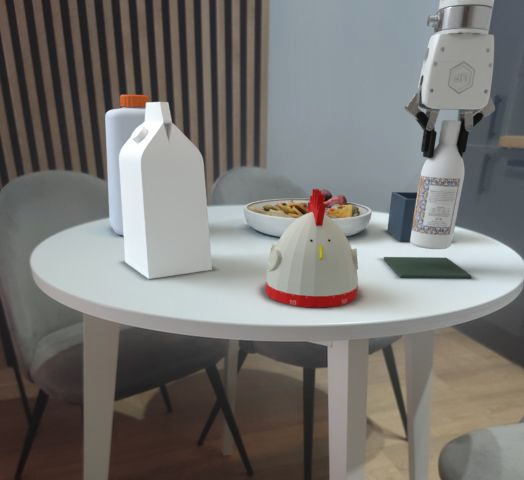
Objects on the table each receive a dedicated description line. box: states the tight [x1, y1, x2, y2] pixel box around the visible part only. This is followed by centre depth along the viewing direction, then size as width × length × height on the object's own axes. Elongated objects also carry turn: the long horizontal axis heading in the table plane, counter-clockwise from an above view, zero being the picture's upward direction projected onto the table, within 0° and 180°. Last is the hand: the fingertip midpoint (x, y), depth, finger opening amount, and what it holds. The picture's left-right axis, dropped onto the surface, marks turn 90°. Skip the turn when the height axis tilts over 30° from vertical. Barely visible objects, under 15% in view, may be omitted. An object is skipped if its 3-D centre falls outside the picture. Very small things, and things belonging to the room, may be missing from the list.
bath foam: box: [409, 119, 466, 250], centre depth 83 cm, size 7×7×20 cm
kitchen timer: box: [265, 188, 359, 308], centre depth 73 cm, size 14×14×15 cm
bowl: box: [243, 188, 372, 238], centre depth 118 cm, size 30×30×8 cm
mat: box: [383, 256, 472, 279], centre depth 89 cm, size 12×12×1 cm
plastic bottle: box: [104, 94, 150, 237], centre depth 110 cm, size 15×15×28 cm
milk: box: [119, 101, 213, 280], centre depth 83 cm, size 12×12×26 cm
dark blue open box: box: [386, 191, 418, 243], centre depth 112 cm, size 11×11×9 cm
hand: (442, 156), depth 81 cm, fingers closed on bath foam, 4 cm apart
